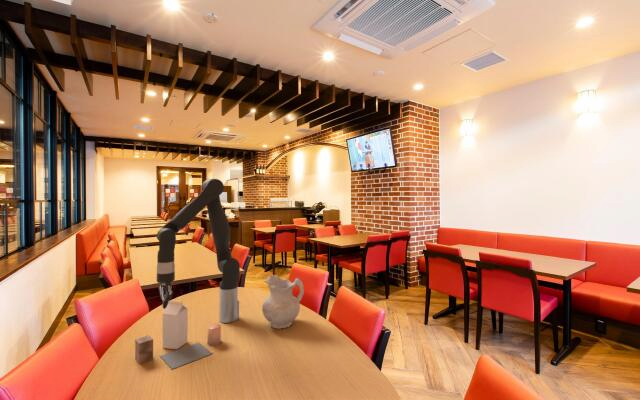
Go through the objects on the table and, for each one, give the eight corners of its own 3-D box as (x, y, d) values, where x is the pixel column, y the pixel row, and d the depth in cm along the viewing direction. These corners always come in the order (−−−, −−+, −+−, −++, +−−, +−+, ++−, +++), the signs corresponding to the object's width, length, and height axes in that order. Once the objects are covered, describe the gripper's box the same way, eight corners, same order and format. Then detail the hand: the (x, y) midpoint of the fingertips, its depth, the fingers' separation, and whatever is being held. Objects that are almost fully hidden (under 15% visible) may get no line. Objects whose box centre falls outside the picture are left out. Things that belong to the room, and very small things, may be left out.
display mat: (198, 342, 132) (198, 342, 132) (212, 353, 123) (212, 353, 123) (159, 356, 120) (159, 355, 120) (171, 369, 111) (171, 368, 111)
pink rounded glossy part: (217, 338, 136) (217, 323, 136) (223, 342, 132) (223, 327, 132) (205, 342, 132) (205, 327, 132) (211, 347, 128) (211, 331, 128)
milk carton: (176, 349, 125) (177, 305, 125) (162, 348, 127) (162, 304, 127) (187, 341, 132) (187, 299, 132) (173, 340, 134) (173, 298, 134)
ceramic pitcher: (306, 320, 160) (307, 273, 161) (300, 333, 140) (301, 280, 142) (267, 318, 162) (268, 272, 164) (256, 331, 142) (258, 279, 144)
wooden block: (149, 354, 122) (149, 335, 122) (153, 359, 118) (153, 339, 118) (135, 359, 118) (135, 339, 118) (138, 364, 115) (139, 343, 114)
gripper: (179, 272, 136) (179, 309, 136) (169, 267, 145) (168, 302, 145) (162, 275, 130) (161, 314, 130) (152, 269, 139) (152, 306, 140)
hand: (165, 308), depth 138 cm, fingers closed
